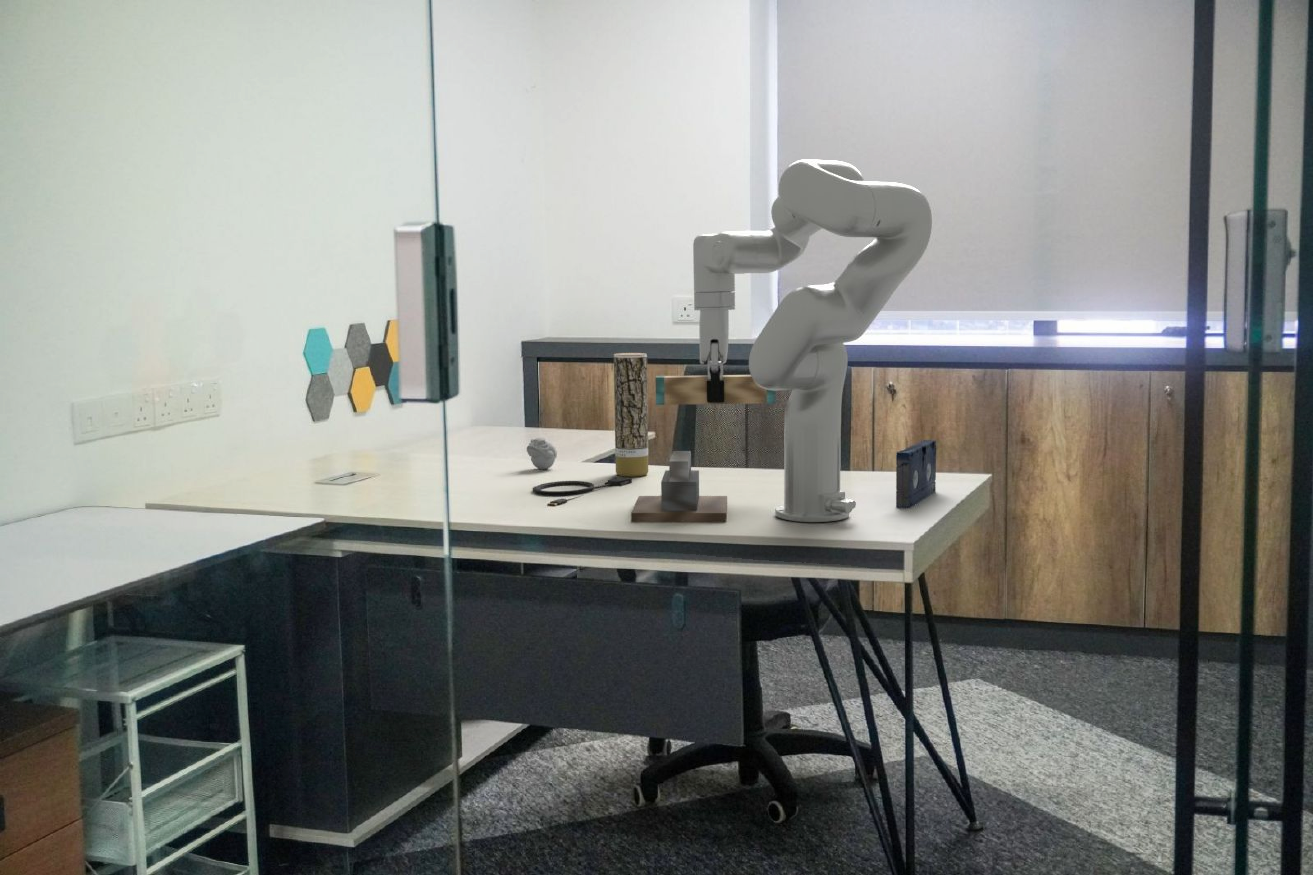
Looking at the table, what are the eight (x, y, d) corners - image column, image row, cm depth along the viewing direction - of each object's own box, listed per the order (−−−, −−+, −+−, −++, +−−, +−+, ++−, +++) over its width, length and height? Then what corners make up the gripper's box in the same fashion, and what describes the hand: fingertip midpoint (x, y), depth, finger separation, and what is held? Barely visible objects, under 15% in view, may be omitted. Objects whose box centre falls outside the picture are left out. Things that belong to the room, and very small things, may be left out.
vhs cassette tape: (923, 491, 240) (923, 439, 238) (938, 492, 238) (939, 440, 237) (892, 508, 224) (893, 452, 222) (909, 509, 222) (909, 453, 221)
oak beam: (774, 401, 236) (774, 374, 236) (775, 403, 232) (775, 375, 231) (657, 402, 238) (656, 375, 237) (655, 405, 234) (655, 377, 233)
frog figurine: (520, 470, 269) (519, 437, 268) (544, 466, 275) (543, 434, 274) (540, 473, 265) (540, 440, 265) (564, 468, 271) (563, 436, 270)
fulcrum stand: (727, 504, 228) (727, 449, 227) (726, 521, 213) (725, 463, 211) (638, 504, 230) (638, 449, 228) (631, 521, 214) (630, 463, 212)
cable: (494, 503, 235) (494, 495, 235) (576, 480, 259) (576, 473, 259) (555, 509, 228) (555, 501, 228) (634, 485, 253) (634, 477, 253)
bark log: (644, 477, 258) (643, 355, 254) (612, 477, 259) (610, 355, 256) (651, 472, 264) (650, 353, 261) (619, 471, 266) (617, 352, 262)
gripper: (695, 301, 241) (697, 397, 243) (692, 303, 225) (694, 406, 227) (735, 300, 241) (736, 396, 243) (734, 302, 224) (736, 405, 226)
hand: (715, 400), depth 235 cm, fingers closed on oak beam, 4 cm apart
